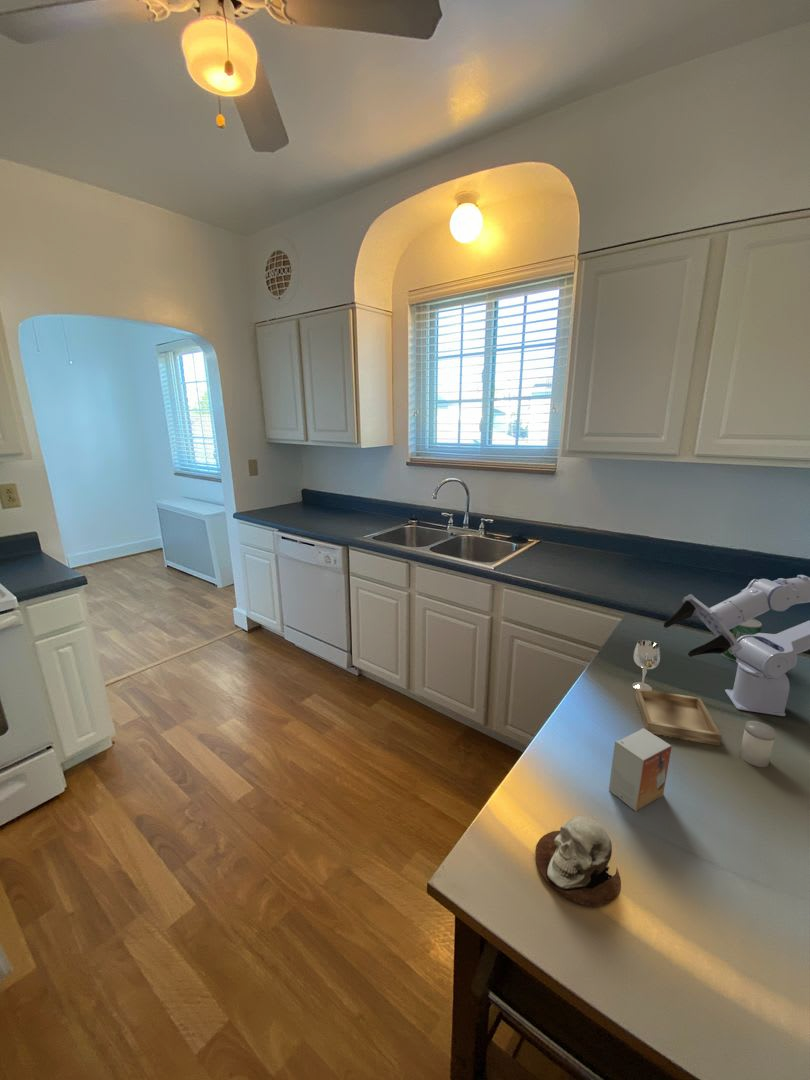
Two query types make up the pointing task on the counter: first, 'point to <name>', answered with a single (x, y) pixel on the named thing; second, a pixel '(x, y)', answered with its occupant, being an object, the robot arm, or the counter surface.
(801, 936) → the counter surface
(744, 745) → the shaker
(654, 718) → the tray
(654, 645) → the wineglass
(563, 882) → the skull
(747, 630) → the canned tomato
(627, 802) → the small box
